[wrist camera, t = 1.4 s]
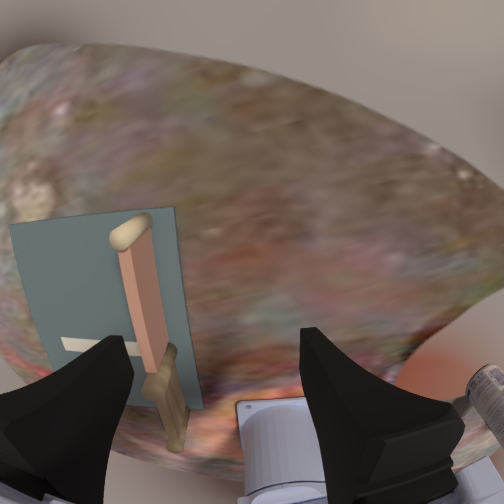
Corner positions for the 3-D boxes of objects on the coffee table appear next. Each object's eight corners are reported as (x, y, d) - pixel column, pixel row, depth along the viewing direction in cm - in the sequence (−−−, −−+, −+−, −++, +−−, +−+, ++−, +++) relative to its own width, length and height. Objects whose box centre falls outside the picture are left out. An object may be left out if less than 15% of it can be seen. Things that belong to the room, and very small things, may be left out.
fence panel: (171, 339, 22) (158, 377, 18) (156, 339, 22) (141, 376, 18) (151, 211, 19) (127, 227, 15) (134, 212, 19) (107, 229, 15)
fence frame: (175, 341, 22) (161, 385, 17) (192, 414, 25) (185, 456, 20) (156, 341, 22) (138, 384, 17) (175, 413, 25) (166, 455, 20)
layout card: (174, 206, 20) (173, 207, 19) (204, 406, 25) (203, 410, 25) (11, 224, 19) (8, 225, 19) (67, 393, 25) (65, 395, 25)
